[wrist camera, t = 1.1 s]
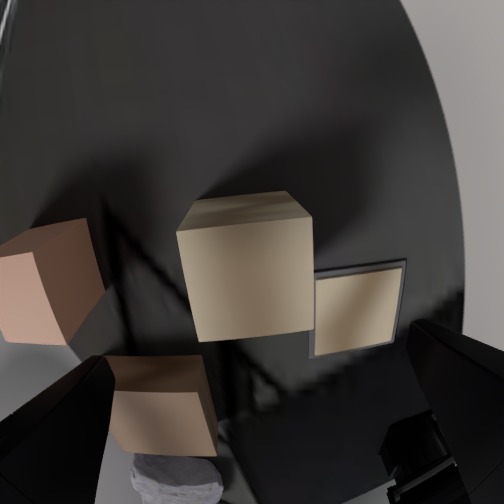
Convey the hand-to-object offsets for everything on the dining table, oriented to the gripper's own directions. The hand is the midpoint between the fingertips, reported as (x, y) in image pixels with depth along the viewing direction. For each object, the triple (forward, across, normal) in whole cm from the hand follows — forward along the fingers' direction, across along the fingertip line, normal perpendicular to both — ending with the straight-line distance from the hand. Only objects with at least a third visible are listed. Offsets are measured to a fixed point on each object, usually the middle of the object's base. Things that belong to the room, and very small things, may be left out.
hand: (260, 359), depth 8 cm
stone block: (+11, +11, +28) cm, 32 cm away
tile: (+10, -7, +6) cm, 14 cm away
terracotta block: (+10, +12, 0) cm, 16 cm away
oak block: (+10, 0, 0) cm, 10 cm away
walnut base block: (+10, +8, +12) cm, 18 cm away
